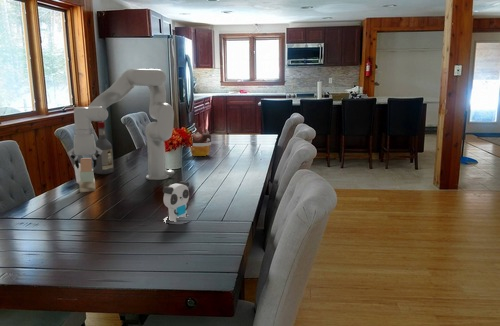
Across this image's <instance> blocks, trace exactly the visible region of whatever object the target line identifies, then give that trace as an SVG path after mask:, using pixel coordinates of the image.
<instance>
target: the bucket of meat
mask: <svg viewBox="0 0 500 326" xmlns="http://www.w3.org/2000/svg"><path fill="white" fill-rule="evenodd" d="M202 130H203V129H202V127H201V126H199V127H198V130H197V129H195V133H194V134H193V133H192V137H193V146H192V147H190V146H189V149H190V153H191V155H192V157H194V156H205V157H207V156H208V155H209V154H210V148H211V144H212V135H211V134H210V132H209V130H208V129H207V128H205V129H204V130H203V131H202ZM206 155H207V156H206Z"/></svg>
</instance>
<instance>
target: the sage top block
mask: <svg viewBox="0 0 500 326" xmlns="http://www.w3.org/2000/svg"><path fill="white" fill-rule="evenodd" d="M94 178H95V175H94V168H92V171H90V172H81V170H80V179H81V182H91V181H94Z"/></svg>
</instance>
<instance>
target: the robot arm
mask: <svg viewBox="0 0 500 326" xmlns="http://www.w3.org/2000/svg"><path fill="white" fill-rule="evenodd" d="M166 79H167V76H166V73H165V72H164V70H162V69H160V68H159V69H158V68H155V69H154V68H149V69H148V68H147V69H146V68H129V69H126V70H125V71H124V72H122V73H121V75H120V76H119V77H118V78H117V79H116V80H115V82H113V83H112V84H111V86H110V87H108V88H107V89H106V90H105V91H103V92H102V93H100V94H99V95H98V96H96V97H95V98H94V100H93V101H91V102H90V104H89V105H88V106H76V107H74V108H73V116H74V130H75V131H74V132H75V134H74V135H73V147H72V148H71V149H70V150H68V151H67V155H68V156H69V157H70V158H71V159H73V161H74V165H75V166H76V167H77V168H79V161H80V160H79V156H92V158H93V159H92V166H93V169H95V166H96V165H97V161H96V159H97V158H98V157H99V156H100V155H101V153H102V150H100V149H99V148H97V147H96V144H95V143H96V139H95V135H94V134H93V133H95V132H96V130H95V129H94V128H93V129H92V122H105V121H106V120H107V119H108V117H109V111H108V110H107V108H108V107H110V106H111V105H113V104H115V103H118V102H120V101H122V100H123V99H124V98H126V96H127V95H128V94H129V93H130V92H131V91H133V89H134V87H141V86H142V87H148V90H149V96H150V98H149V109H148V113H149V114H148V115H149V116H150V118H151V119H154V120H156V121H152V122H151V121H150V122H149V123H147V124H146V126H145V129H144V131H145V137H146V145H147V165H148V166H147V167H148V174H147V175H146V177H145V178H146V180H149V181H163V180H166V179H168V178H169V177H170V175H174V174H175V170H172V169H169V170H167V167H166V143H165V142H166V141H168V140H170V138H172V135H173V131H174V120H175V111H174V108H173V106H172V105H171V104H169V103H167V90H166V86H165V83H166ZM96 150H97V151H98V152H99V153H98V154H97V155H95V153H96Z"/></svg>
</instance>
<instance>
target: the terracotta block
mask: <svg viewBox="0 0 500 326" xmlns="http://www.w3.org/2000/svg"><path fill="white" fill-rule="evenodd" d="M92 158H93V157H83V158H80V160H79V161H80V165H81V172H90V171H92V169H93V159H92Z"/></svg>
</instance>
